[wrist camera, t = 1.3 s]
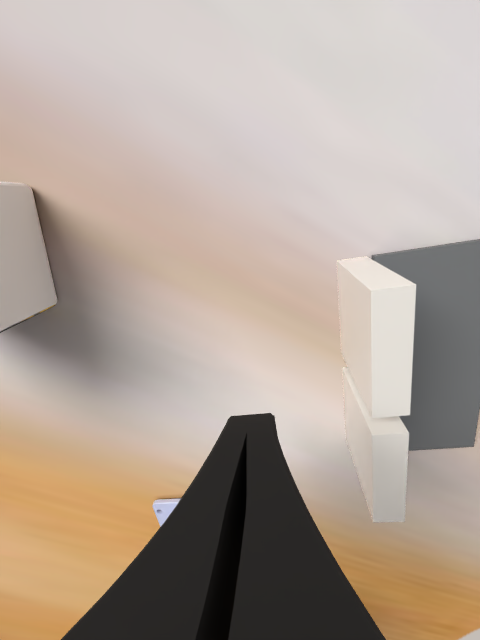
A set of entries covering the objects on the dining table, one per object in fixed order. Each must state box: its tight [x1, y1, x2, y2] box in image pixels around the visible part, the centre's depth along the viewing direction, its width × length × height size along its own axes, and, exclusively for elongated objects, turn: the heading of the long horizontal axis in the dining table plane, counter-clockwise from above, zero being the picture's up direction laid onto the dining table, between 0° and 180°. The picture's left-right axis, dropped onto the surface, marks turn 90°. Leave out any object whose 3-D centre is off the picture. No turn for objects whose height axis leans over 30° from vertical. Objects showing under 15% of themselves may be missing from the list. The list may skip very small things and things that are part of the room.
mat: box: [372, 239, 480, 451], centre depth 18 cm, size 14×6×1 cm, turn 10°
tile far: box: [342, 367, 409, 523], centre depth 17 cm, size 6×2×6 cm, turn 10°
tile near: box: [336, 256, 416, 418], centre depth 15 cm, size 6×2×6 cm, turn 10°
